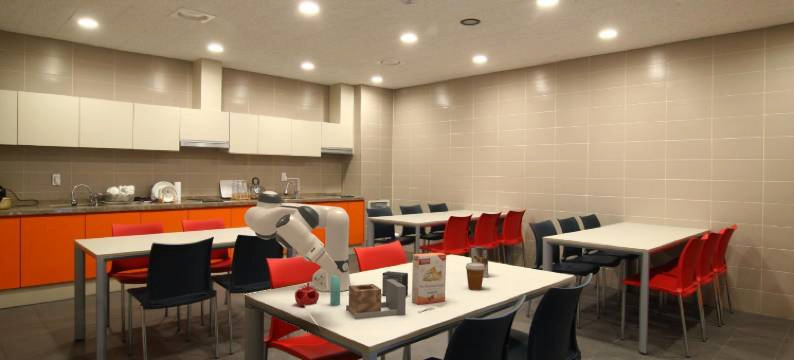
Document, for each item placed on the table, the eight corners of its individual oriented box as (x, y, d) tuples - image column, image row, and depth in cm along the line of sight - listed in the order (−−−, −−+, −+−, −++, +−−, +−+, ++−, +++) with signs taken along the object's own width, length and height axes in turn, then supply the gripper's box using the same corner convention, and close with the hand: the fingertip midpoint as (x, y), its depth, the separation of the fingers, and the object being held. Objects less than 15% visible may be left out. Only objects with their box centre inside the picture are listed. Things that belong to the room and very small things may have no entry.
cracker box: (418, 305, 206) (418, 256, 206) (411, 301, 211) (411, 253, 211) (446, 301, 213) (446, 253, 212) (438, 298, 218) (439, 251, 218)
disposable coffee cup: (462, 289, 235) (463, 265, 235) (467, 285, 244) (468, 262, 244) (482, 291, 231) (482, 266, 231) (486, 287, 240) (486, 263, 240)
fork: (402, 316, 191) (402, 312, 191) (441, 305, 208) (441, 301, 208) (408, 318, 189) (408, 313, 189) (447, 306, 206) (447, 302, 206)
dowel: (328, 307, 201) (328, 275, 201) (335, 305, 204) (335, 274, 204) (335, 309, 199) (335, 277, 199) (342, 307, 202) (342, 275, 202)
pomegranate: (297, 302, 210) (297, 280, 210) (320, 302, 210) (321, 280, 210) (292, 307, 200) (292, 285, 200) (316, 308, 200) (316, 285, 200)
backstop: (342, 323, 179) (342, 291, 179) (333, 313, 192) (333, 283, 192) (405, 317, 188) (405, 286, 188) (392, 308, 201) (392, 279, 201)
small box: (408, 295, 223) (408, 272, 223) (402, 298, 217) (403, 275, 217) (387, 292, 228) (388, 270, 228) (381, 295, 222) (381, 272, 222)
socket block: (355, 317, 183) (356, 291, 183) (348, 310, 192) (348, 285, 192) (381, 315, 187) (381, 289, 187) (372, 308, 196) (373, 283, 196)
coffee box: (487, 275, 270) (488, 246, 270) (488, 277, 264) (488, 248, 263) (471, 274, 271) (471, 246, 271) (471, 277, 265) (471, 247, 265)
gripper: (301, 251, 191) (325, 275, 194) (311, 260, 171) (337, 286, 175) (313, 240, 192) (336, 263, 196) (323, 247, 173) (350, 273, 176)
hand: (337, 274), depth 185 cm, fingers open, 8 cm apart
